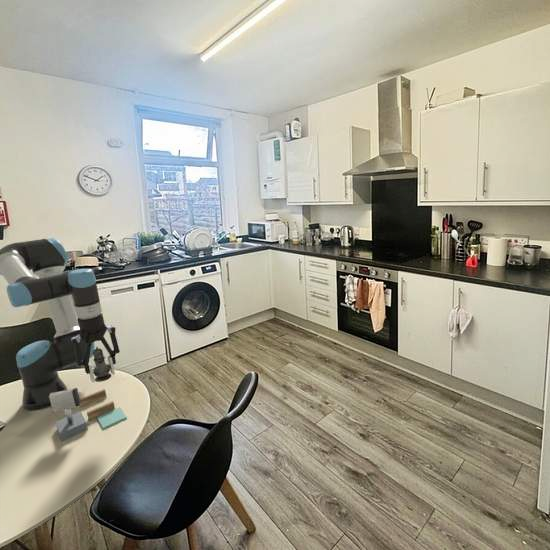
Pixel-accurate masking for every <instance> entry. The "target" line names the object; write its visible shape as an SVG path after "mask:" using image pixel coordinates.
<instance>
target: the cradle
mask: <svg viewBox="0 0 550 550" xmlns="http://www.w3.org/2000/svg"><path fill="white" fill-rule="evenodd" d="M106 397H108V396H107V393H106V390H105V388H103V389H101V390H98V391H95V392H94V393H93V392H92V393H91V394H88V395H86V396H83V397H81V398H80V401H81V404H80V406H81V407H82V408H83V407H85V406H88V405H89V404H92V403H95V402H98V401H99V400H103V399H105V398H106ZM114 409H116V407H115V403H114V401H113V400H112V401H109V402H107V403H105V404H103V405H100V406H97V407H95V408H93V409H91V410H89V411H86V414H87V419H88V421H91V420H93V419H94V420H95V419H97V417H98V416H100V415H103V414H105V413H107V412H110V411H112V410H114Z"/></svg>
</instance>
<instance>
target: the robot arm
mask: <svg viewBox="0 0 550 550" xmlns="http://www.w3.org/2000/svg"><path fill="white" fill-rule="evenodd" d="M68 262H69V259H68V255H67V251H66V249H65V247H64V245H63V244H62V242H60V240H58V239H57V238H42V239H34V240H29V241H27V240H26V241H22V242H21V241H20V242H13V243H9V244H7V245H5V246H3V247H1V248H0V276H3V278H4V280H5V281H6V282H7V284H8V285H7V286H6V293H7V297H8V300H9V302H10V304H11V306H12V307H13V308H20V307H24V306H25V307H27V306H30V305H34V304H38V303H42V302H46V303H47V306H48V309H49V313H50V316H51V318H52V321H53V324H54V328H55V331H56V332H55V334H54V335H53V340H54V341H52V342H50V340H47V339H45V340H44V339H43V340H38V341H35V342H32V343H30V344H28V345H26V346H24V347H22V348H20V350H18V352H17V353H16V356H15V359H16V366H17V368H18V370H19V371H18V372H19V374H20V378H21V381H22V384H23V385H22V386H23V392H22V394H23V395H22V400H21V402H22V407H23V408H24V410H27V411H38V410H42V409H46V408H49V407H52V406H51V402H50V398H49V395H50V393H54V392H59V391H64V390H68V387H67V385H66V384H65V383H64V382H63V380H62V379H61V377H60V376H59V373H58V371H59V370H62V369H66V368H68V367H71V366H74V365H76V364H77V366H78V367H82V366H83V367H84V372H85V373H86V374H87V375H89V378H90V381H91V382H92V383H95V382H96V381H95V378H96V377H95V375H94V373H93V369H94V368H93V366H92V363H91V362H90V359H91V358H93V357H94V355H93V351H94V350H95V349H96V346H95V342H99V341H101V343H102V345H103V346H104V348H105V350H106V351H107V353H108V354H109V355H107V356H106V357H107V361H108V364H109V365H110V366H111V367H110V372H109V373H110V374H111V375H113V376H114V375H115V374H116V372H115V366H114V365H117V361H116V355H117V354H119V353H120V348H119V344H118V339H117V336H116V327H115V326H114V325H109V326H107V325H106V324H105V320H104V315H103V314H104V313H103V312H102V311H103V309H102V306H101V299H100V295H99V290H98V285H97V277H96V276H95V272H94V270H93V269H91V268H78V269H74V270H66V271H65V269H66V264H67V263H68ZM37 277H38V278H37ZM71 297H72V298H71ZM106 332H108V333H109V335H110V341H111V344H112V347H113V349H112V348H111V346H110V344H109V343H108V341H107V340H106V338H105V334H106Z"/></svg>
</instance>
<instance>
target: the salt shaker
mask: <svg viewBox="0 0 550 550" xmlns="http://www.w3.org/2000/svg"><path fill="white" fill-rule="evenodd" d="M105 358H106V357H105V356H104V352H103V349H102V348H100V347H98V346H95V350H94V351H93V362H94V364H95V367H94V368H92V369H93V374H94V378H95V382H97V383H101V382H102V383H103V382H105V381H108V380H110V379H111V378H112V373H111V372H110V367H111V366H110V365H109V363H106V360H105Z"/></svg>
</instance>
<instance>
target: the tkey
mask: <svg viewBox="0 0 550 550" xmlns="http://www.w3.org/2000/svg"><path fill="white" fill-rule="evenodd" d="M49 398H50V402H51V406H50V407H51V409H52V412H58V411H63V410H64V414H65V416H66V417H65V418H67V422H72V421H73V416H72V415H73V413H72V409H73V408H77V407H80V406H81V401H80V392H79V391H78V387H75V388H71V389H67V390H64V391H59V392H54V393H50V395H49Z"/></svg>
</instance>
